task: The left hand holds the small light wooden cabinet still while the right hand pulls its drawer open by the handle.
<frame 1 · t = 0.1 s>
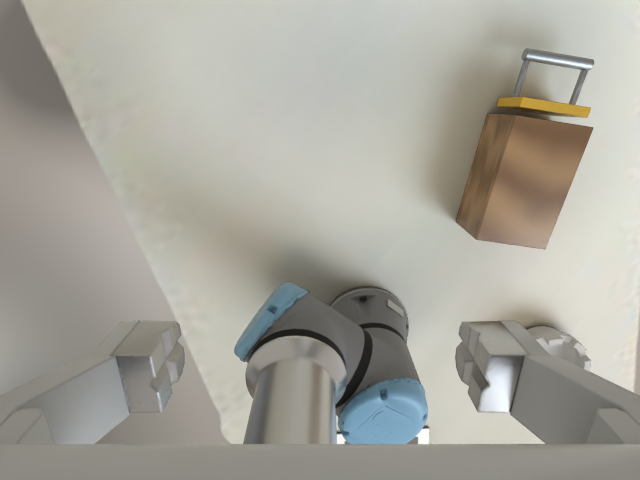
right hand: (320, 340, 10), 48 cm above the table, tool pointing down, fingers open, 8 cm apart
flag stand: (535, 350, 69), on the table
drawer: (529, 139, 51), point 4 cm above the table, slide at 1.1 cm
cabinet: (502, 175, 57), on the table
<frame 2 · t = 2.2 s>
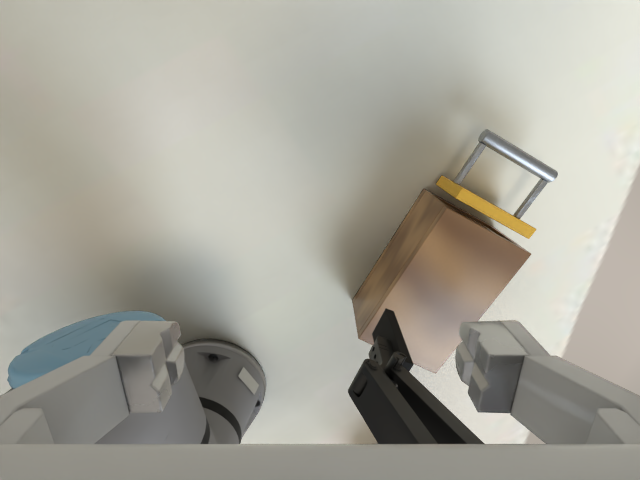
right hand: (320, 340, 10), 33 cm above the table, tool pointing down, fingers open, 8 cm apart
drawer: (459, 238, 40), point 4 cm above the table, slide at 1.1 cm
cabinet: (420, 265, 46), on the table
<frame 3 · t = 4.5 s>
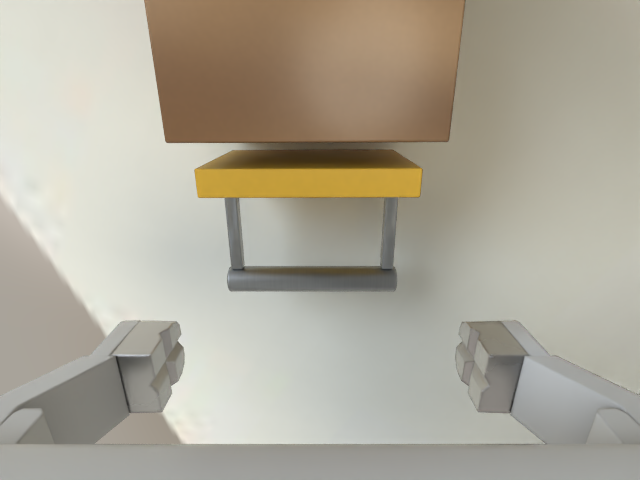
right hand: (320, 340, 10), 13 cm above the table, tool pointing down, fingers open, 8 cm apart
drawer: (309, 72, 16), point 4 cm above the table, slide at 1.1 cm
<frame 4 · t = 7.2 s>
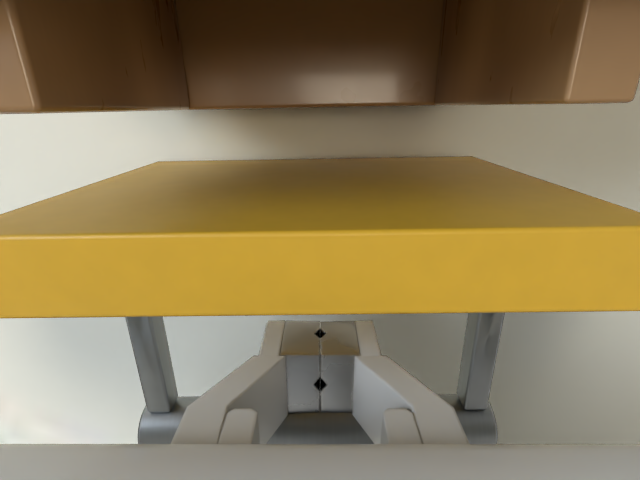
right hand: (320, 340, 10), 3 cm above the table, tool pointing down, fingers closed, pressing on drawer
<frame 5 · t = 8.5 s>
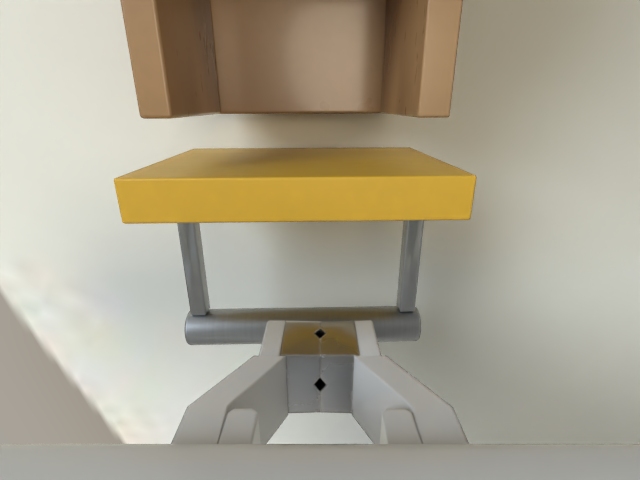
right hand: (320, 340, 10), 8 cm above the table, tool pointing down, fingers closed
drawer: (297, 31, 11), point 4 cm above the table, slide at 6.4 cm
when the left hand's fingers open (3 cm above the table, at t = 9.5 s): cabinet stays where it is, on the table.
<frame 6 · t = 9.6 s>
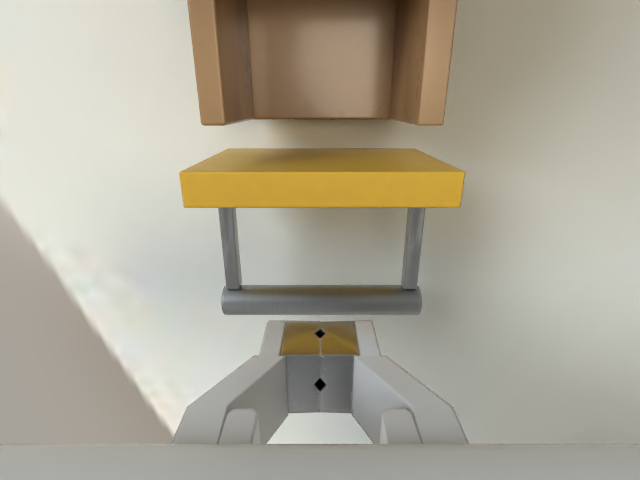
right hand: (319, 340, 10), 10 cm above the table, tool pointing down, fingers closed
drawer: (321, 53, 13), point 4 cm above the table, slide at 6.4 cm
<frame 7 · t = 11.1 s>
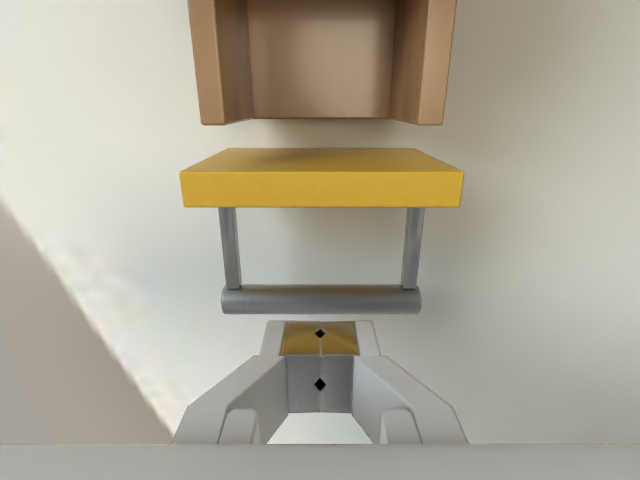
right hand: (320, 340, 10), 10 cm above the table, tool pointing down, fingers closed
drawer: (321, 53, 13), point 4 cm above the table, slide at 6.4 cm
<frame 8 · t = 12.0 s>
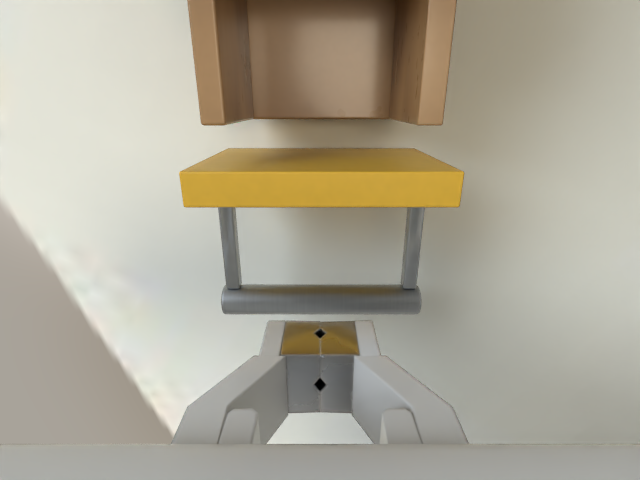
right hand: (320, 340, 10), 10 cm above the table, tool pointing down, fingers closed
drawer: (321, 53, 13), point 4 cm above the table, slide at 6.4 cm
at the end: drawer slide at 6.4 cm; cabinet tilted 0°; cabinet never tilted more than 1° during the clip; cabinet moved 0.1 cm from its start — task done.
